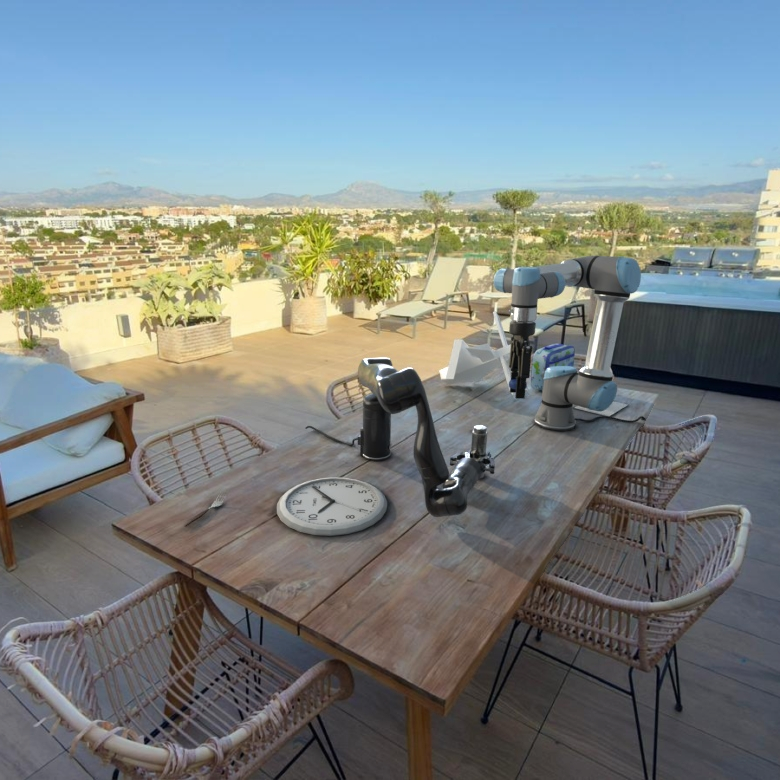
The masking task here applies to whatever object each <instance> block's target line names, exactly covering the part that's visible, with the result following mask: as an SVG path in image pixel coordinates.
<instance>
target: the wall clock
mask: <svg viewBox="0 0 780 780" xmlns="http://www.w3.org/2000/svg"><path fill="white" fill-rule="evenodd" d="M387 509H388V500H387V498H386V496H385V494H384V493H383V492H382V491H381V490H380V489H379V488H377V487H376V486H374V485H372V484H371V483H369V482H365V481H362V480H359V479H355V478H349V477H338V476H337V477H335V476H333V477H332V476H331V477H322V478H317V479H312V480H307V481H305V482H302V483H299V484H297V485H295V486H293V487H292V488H290V489H288V490H287V491H286V492H285V493H284V494H283V495H281V496H280V498H279V499H278V502H277V503H276V515H277V517H278V518H279V520H280V521H281V522H282V523H283V524H285V525H286V526H287V527H288V528H290V529H293V530H295V531H297V532H299V533H303V534H308V535H312V536H327V537H328V536H329V537H331V536H332V537H333V536H342V535H350V534H352V533H356V532H361V531H363V530H366V529H368V528H369V527H372V526H373V525H375V524H376V523H378V522H379V521H380V520H381V519H382V518H383V517H384V516H385V514H386V512H387Z"/></svg>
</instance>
